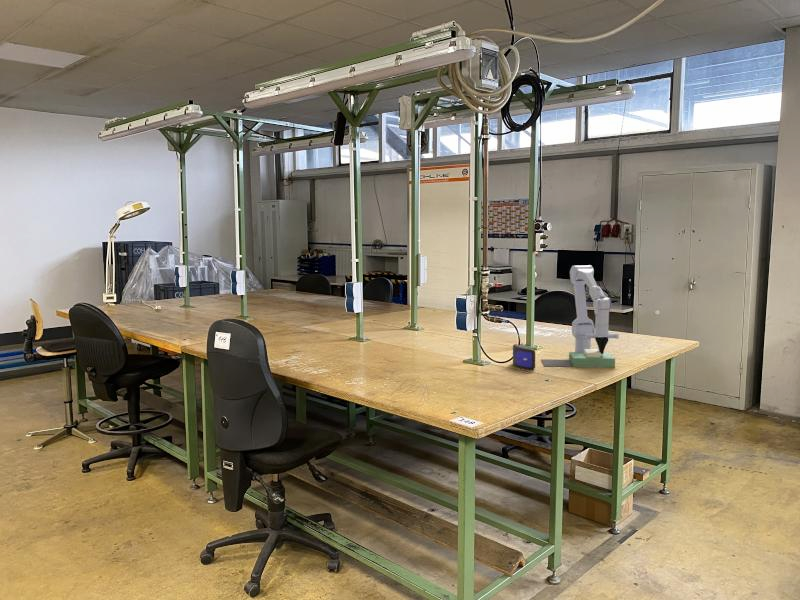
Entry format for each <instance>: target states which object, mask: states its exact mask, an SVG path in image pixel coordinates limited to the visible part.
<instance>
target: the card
mask: <svg viewBox="0 0 800 600" xmlns="http://www.w3.org/2000/svg"><path fill="white" fill-rule="evenodd" d="M584 354H585V355H586V356H587V357H601V353H600V352H599V348H598V349H597V348H591V349H584Z"/></svg>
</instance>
